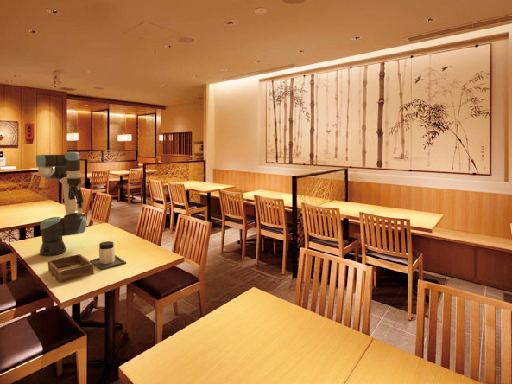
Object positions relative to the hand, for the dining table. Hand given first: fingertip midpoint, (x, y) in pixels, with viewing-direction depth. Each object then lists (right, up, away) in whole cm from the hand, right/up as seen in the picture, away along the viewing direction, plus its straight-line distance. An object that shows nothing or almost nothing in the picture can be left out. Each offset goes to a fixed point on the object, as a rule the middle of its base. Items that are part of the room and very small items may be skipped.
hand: (76, 211), depth 201 cm
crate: (+4, -34, -13) cm, 37 cm away
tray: (+19, -32, +2) cm, 37 cm away
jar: (+18, -32, +2) cm, 36 cm away
